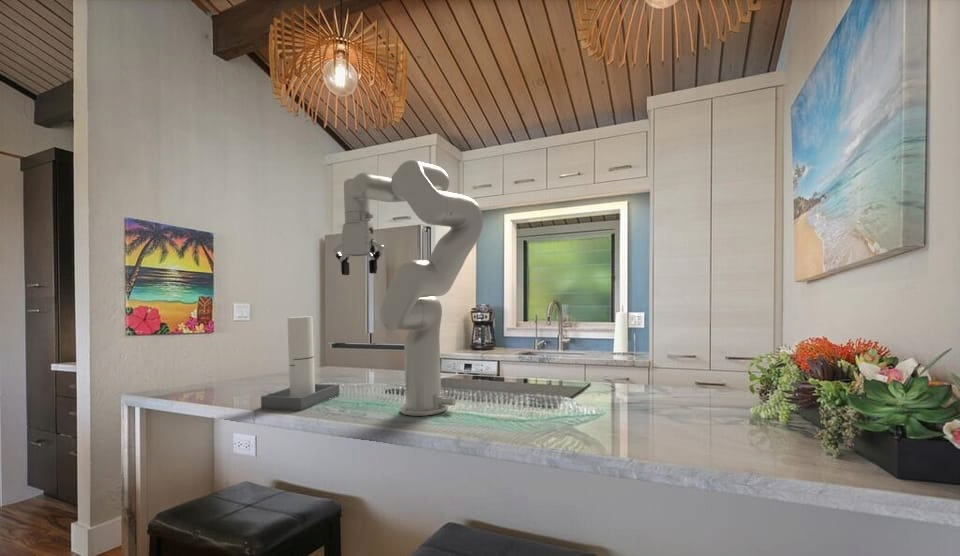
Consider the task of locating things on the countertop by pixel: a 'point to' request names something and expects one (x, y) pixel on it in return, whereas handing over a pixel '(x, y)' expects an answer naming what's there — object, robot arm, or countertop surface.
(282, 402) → the charcoal tray
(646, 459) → the countertop surface
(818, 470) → the countertop surface
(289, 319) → the cylindrical container
